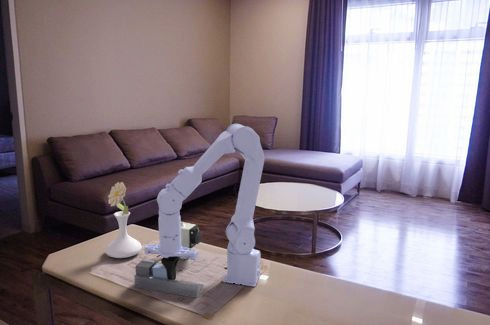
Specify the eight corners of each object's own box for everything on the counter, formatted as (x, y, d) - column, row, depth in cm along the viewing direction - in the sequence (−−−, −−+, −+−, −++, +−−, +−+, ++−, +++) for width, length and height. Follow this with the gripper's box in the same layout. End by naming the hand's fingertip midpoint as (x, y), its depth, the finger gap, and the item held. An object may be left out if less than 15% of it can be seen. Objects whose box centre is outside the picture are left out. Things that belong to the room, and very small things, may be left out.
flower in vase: (104, 249, 120) (99, 177, 115) (139, 244, 125) (136, 174, 120) (107, 266, 108) (102, 187, 104) (145, 259, 113) (142, 183, 108)
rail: (203, 287, 98) (203, 266, 96) (196, 297, 93) (196, 275, 92) (144, 278, 102) (143, 258, 101) (134, 287, 97) (133, 266, 96)
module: (173, 278, 100) (172, 261, 99) (167, 286, 96) (165, 268, 95) (160, 277, 101) (159, 260, 100) (153, 284, 97) (152, 266, 96)
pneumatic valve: (195, 263, 111) (195, 227, 109) (163, 257, 115) (162, 221, 113) (203, 256, 116) (203, 221, 114) (172, 250, 120) (171, 216, 118)
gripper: (137, 236, 93) (140, 284, 95) (189, 242, 89) (190, 291, 92) (151, 226, 99) (153, 271, 102) (199, 231, 96) (200, 278, 99)
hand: (171, 280), depth 97 cm, fingers closed, pressing on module
